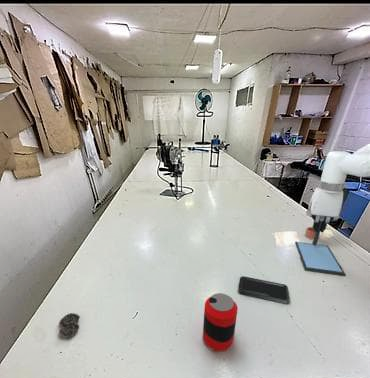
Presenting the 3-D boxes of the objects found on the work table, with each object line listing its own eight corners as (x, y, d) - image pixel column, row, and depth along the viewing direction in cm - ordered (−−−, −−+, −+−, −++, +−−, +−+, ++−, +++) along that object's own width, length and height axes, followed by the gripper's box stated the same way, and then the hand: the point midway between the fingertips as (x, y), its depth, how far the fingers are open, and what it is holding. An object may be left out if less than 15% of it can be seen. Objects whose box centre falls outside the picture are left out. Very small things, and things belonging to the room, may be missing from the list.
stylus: (315, 243, 98) (323, 217, 93) (317, 245, 96) (324, 219, 91) (311, 243, 98) (318, 216, 93) (312, 245, 96) (319, 218, 91)
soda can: (204, 324, 63) (206, 288, 58) (233, 328, 62) (237, 292, 57) (201, 349, 56) (203, 311, 51) (233, 354, 55) (238, 316, 50)
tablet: (327, 247, 100) (327, 245, 100) (344, 276, 83) (345, 273, 82) (294, 243, 103) (295, 241, 103) (304, 270, 85) (305, 268, 85)
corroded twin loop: (58, 342, 57) (57, 339, 57) (60, 318, 64) (59, 315, 64) (80, 335, 59) (80, 332, 59) (80, 313, 66) (79, 310, 65)
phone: (240, 275, 80) (287, 284, 76) (240, 278, 81) (286, 287, 76) (237, 290, 73) (289, 301, 69) (237, 293, 74) (288, 304, 70)
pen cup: (316, 235, 110) (318, 227, 109) (319, 241, 105) (321, 233, 104) (303, 234, 111) (305, 226, 110) (306, 239, 106) (308, 231, 105)
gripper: (350, 185, 88) (336, 229, 96) (305, 182, 92) (295, 224, 99) (358, 191, 82) (343, 237, 89) (310, 187, 85) (299, 232, 93)
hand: (318, 230), depth 94 cm, fingers closed on stylus, 1 cm apart
